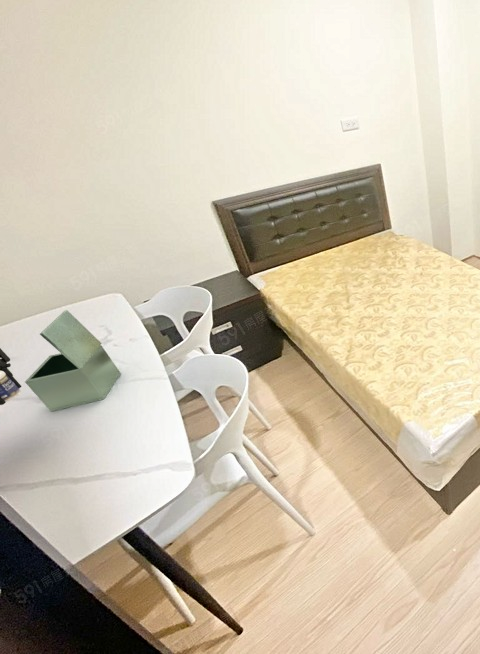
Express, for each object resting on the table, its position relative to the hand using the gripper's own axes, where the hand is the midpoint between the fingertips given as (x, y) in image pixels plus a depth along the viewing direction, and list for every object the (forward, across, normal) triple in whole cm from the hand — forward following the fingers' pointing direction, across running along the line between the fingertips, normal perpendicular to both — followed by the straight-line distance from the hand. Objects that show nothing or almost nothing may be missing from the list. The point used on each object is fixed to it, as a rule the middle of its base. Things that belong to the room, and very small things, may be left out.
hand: (6, 396), depth 106 cm
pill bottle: (+1, 0, 0) cm, 1 cm away
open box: (+17, +18, -2) cm, 25 cm away
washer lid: (-4, +18, -7) cm, 20 cm away
